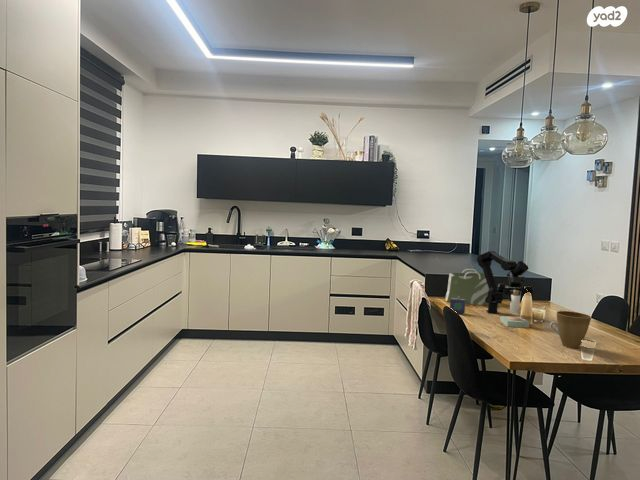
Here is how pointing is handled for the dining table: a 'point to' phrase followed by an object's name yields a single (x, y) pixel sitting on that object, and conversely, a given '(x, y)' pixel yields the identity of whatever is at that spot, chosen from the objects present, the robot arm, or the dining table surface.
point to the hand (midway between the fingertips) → (515, 301)
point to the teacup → (556, 328)
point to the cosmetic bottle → (515, 302)
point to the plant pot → (572, 327)
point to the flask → (458, 305)
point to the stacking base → (514, 321)
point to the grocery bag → (468, 287)
